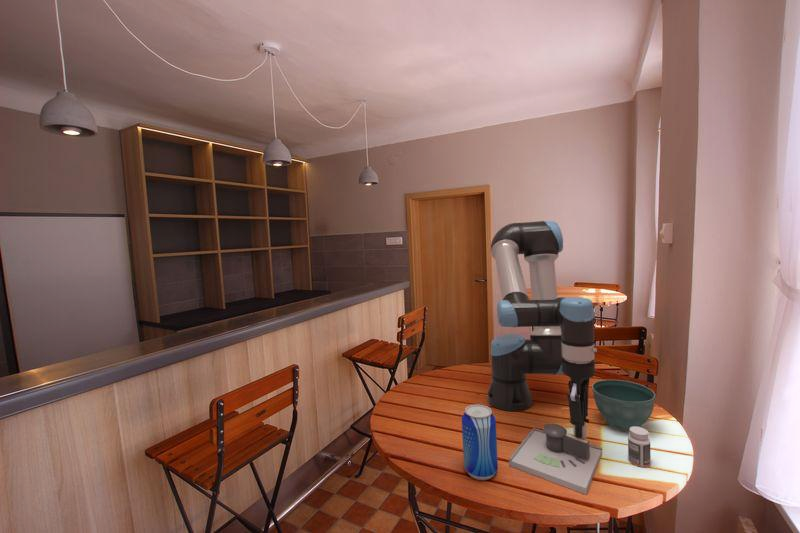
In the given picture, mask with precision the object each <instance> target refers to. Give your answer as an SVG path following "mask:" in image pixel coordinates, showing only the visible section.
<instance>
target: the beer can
mask: <svg viewBox="0 0 800 533" xmlns="http://www.w3.org/2000/svg"><path fill="white" fill-rule="evenodd" d="M461 430H462V453H463V467H464V470H465V471H466V472H467V474H468V475H469V476H470V477H471V478H473V479H475V480H479V481H487V480H491V479H492V478H493V477H494V476H495V474H497V472H498V469H499V468H498V466H499V465H498V446H497V445H498V444H497V443H498V441H497V440H498V439H497V420H496V417H495V416H494V414H493V412H492V408H490V407H489V406H487V405H485V404H478V403H477V404H471V405H468V406H467V407H465V409H464V413H463V414H462V416H461Z"/></svg>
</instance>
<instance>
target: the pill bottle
mask: <svg viewBox="0 0 800 533" xmlns="http://www.w3.org/2000/svg"><path fill="white" fill-rule="evenodd" d="M628 433H629V434H628V436H627V449H628V450H627V452H628V454H627V458H628V461H629V462H630V463H631V464H632V465H635V466H637V467H640V468H647V467H650V466H651V462H652V460H651V440H650V438H649V431H648V430H647V429H646V428H643V427H642V428H641V427H636V426H633V427H630V430H629V432H628Z"/></svg>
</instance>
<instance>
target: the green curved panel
mask: <svg viewBox="0 0 800 533" xmlns="http://www.w3.org/2000/svg"><path fill="white" fill-rule="evenodd" d="M589 458H590V457H589ZM589 458H588V459H589ZM534 459H535V460H537V461H539V462H541V461H542V462H541V463H543V464H546V465H550V464H551V466H553V467H558V468H559V460H558V459H553V458H550V457H547V456H545V455H543V454H541V453H540V454H539V455H537V456H536V457H534ZM575 459H576V460H577V461H579V462H581V463H583V464H585V462H584V461H582V460H580V459H578V458H575ZM568 461H569V462H570V463H571V464H572V465H573V466H574V467H577V465H576V464H574V463H573V462H572V461H571V460H568ZM560 462H561V464H562V466H563V467H566V466H565V464H564V462H563V461H561V460H560Z"/></svg>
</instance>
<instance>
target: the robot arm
mask: <svg viewBox="0 0 800 533" xmlns="http://www.w3.org/2000/svg"><path fill="white" fill-rule="evenodd" d="M563 249H564V237H563V232H562V230H561V227H560V226H559V224H558V223H557V222H555V221H552V220H550V221H549V220H540V221H529V222H527V221H526V222H512V223H508V224H506V225H504V226H502V227H501V228H500V229H499V230H497V232H496V233H495V234H494V236H493V238H492V240H491V244H490V252H491V256H492V258H493V259H494V261H495V265H496V272H497V276H498V283H499V288H500V295H501V300H499V301H497V304H496V315H497V323H498V325H499V326H501V327H504V328H505V327H506V328H524V327H526V328H530V327H533V330H532V332H531V333H530V334H529V339H526V337H525V336H524V335H522V334H515V333H514V334H513V333H511V334H503V335H499V336H497V337H495V338H493V340H492V341H491V343H490V351H489V352H490V353H489V354H490V355H491V356H490V357H491V358H490V360H491V361H490V362H491V381H490V385H489V389H488V391H487V402H488V404H489V405H490V406H492V407H493V408H496V409H498V410H502V411H507V412H521V411H525V410H528V409H529V408H531V406H532V405H533V396H532V393H531V391H530V388H529V386H528V383H527V375H528V374H529V375H564V376H565V375H566V376H568V378H570V380H569V381H568V383H567V384H568V389H569V392H567V394H566V397H567V399H568V400H567V401H568V408H569V418H570V420H569V423H570V424H571V425H572V426H573V436H574V437H577V438H580V439H583V440H586V441H587V424H589V423H590V419H588V415H589V412H588V411H589V409H588V408H589V387H590V386H589V385H590V379H591V378H593V377H594V376H595V374H596V362H595V360H594V359H595V353H597V352H598V350H597V348H596V347H595V311H594V310H595V309H594V302H593V300H591V299H589V298H585V297H580V296H579V297H577V296H569V297H566V296H565V297H564V296H558V288H557V286H558V285H557V279H556V278H557V277H556V263H555V261H556V260H558V258H559V254H560V253H561V252H562V251H563ZM519 255H523V257H524V258H523V259H524V261H526V262H527V263H528V266H529V267H528V268H529V279H530V280H529V282H530V294H531V299H530V298H529V294H528V290H527V286H526V283H525V279H524V275H523V271H522V267H521V263H520V259H519Z"/></svg>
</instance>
